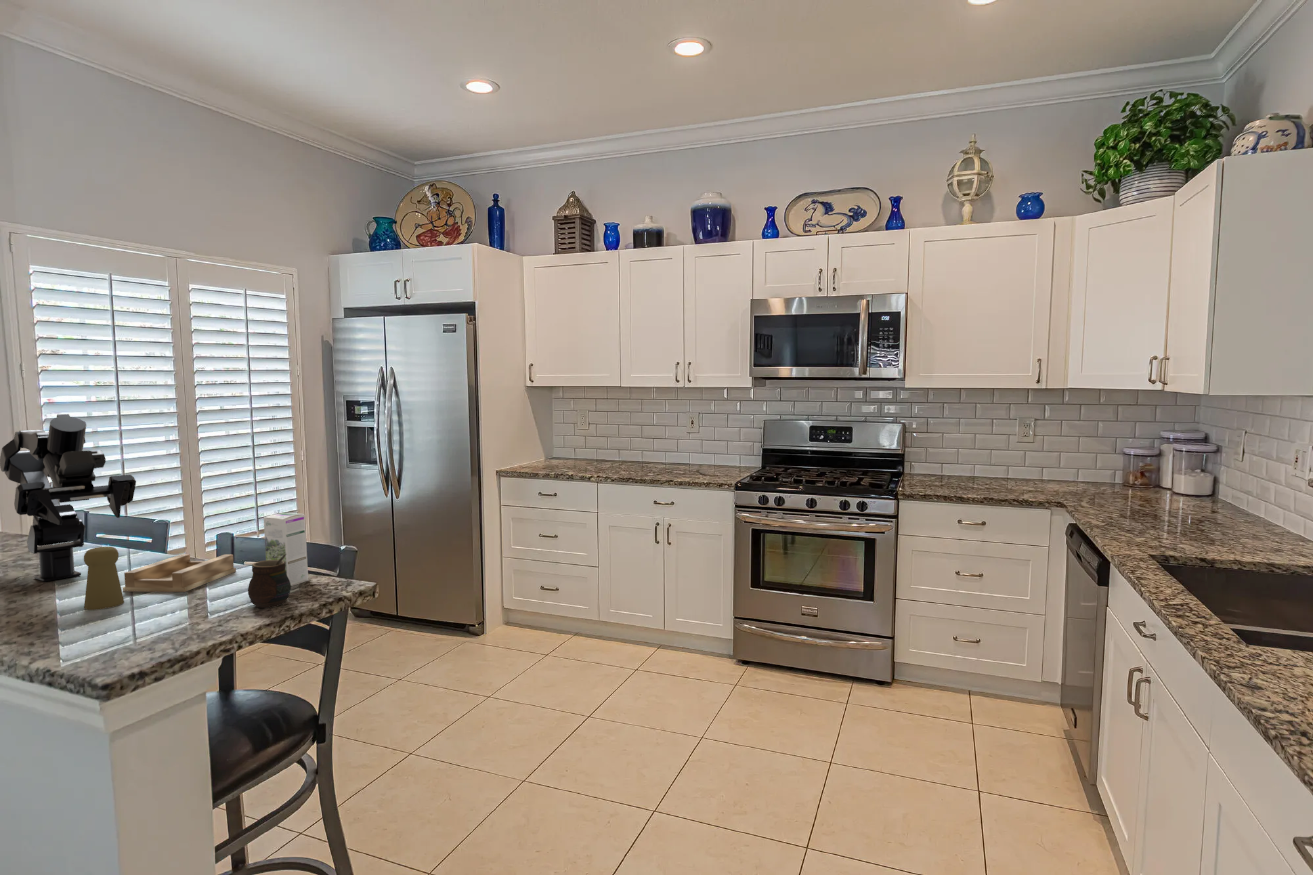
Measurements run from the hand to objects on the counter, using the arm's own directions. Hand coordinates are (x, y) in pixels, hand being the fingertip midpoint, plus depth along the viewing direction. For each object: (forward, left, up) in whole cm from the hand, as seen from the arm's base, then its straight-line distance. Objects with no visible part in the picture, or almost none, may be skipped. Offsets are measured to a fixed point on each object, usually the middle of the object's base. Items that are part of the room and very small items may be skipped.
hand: (90, 519), depth 139 cm
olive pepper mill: (+8, -1, -16) cm, 17 cm away
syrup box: (+23, +26, -16) cm, 38 cm away
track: (+2, +15, -15) cm, 21 cm away
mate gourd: (+35, +16, -16) cm, 41 cm away
